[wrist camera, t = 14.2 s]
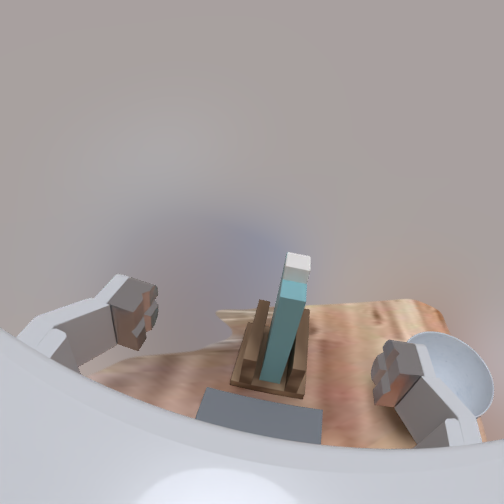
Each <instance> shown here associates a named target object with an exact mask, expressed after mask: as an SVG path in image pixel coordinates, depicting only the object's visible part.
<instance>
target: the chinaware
mask: <svg viewBox="0 0 504 504" xmlns="http://www.w3.org/2000/svg"><path fill="white" fill-rule="evenodd" d="M407 343H416V344H424V345H425V346H426V347H427V350H428V353H429V356H430V359H431V362H432V365H433V368H434V372H435V375H436V378H440V379H441V380H442V381H443V382H444V383H445V384H446V385H447V386H448V388H449V389H450V390H451V391H452V392H453V393H454V394H455V395H456V396H457V397H458V398H459V399H460V400H461V401H462V403H463V404H464V405H465V406H466V407H467V408H468V409H469V410H470V411H471V412H472V414H473V415H474V416H475V417H476V419H477V418H479V417H480V416H481V415H483V414H484V413H485V412H486V411H487V410H488V408H489V407H490V405H491V403H492V400H493V396H494V384H493V379H492V376H491V373H490V371H489V369H488V367H487V365H486V364H485V362H484V361H483V359H482V358H481V357H480V356H479V355H478V354H477V353H476V352H475V351H474V350H473V349H472V348H471V347H470V346H468V345H467V344H465V343H464V342H462V341H460V340H459V339H457V338H455V337H453V336H450V335H448V334H444V333H440V332H422V333H419V334H416V335H414V336H413V337H411V338H410V339H409V340H408V341H407Z"/></svg>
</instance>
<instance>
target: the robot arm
mask: <svg viewBox="0 0 504 504" xmlns="http://www.w3.org/2000/svg"><path fill="white" fill-rule="evenodd" d="M157 296H158V288H157V286H156V285H153V284H150V283H147V282H144V281H141V280H138V279H135V278H132V277H128V276H125V275H122V274H117V275H115V276H114V277H113V278H112V279H111V281H110V282H109V283H108V284H107V285H106V286H105V287H104V288H103V289H102V290H101V291H100V292H99V293H98V294H97V296H96V297H95V298H94V299H93V298H88V299H85V300H82V301H79V302H76V303H73V304H71V305H67V306H64V307H62V308H59V309H56V310H53V311H50V312H47V313H44V314H42V315H39V316H36V317H35V318H34V319H33V320H32V321H31V322H30V323H29V324H28V325H27V326H26V327H25V328H24V329H23V331H22V332H21V333H20V334H19V335H18V336H17V337H14V336H13V335H11V334H9V333H8V332H6V331H5V330H3V329H2V328H0V504H504V439H501V440H495V441H490V442H483V443H482V439H481V435H480V431H479V428H478V424H477V420H476V417H475V416H474V415H473V414H472V412H471V411H470V410H469V409H468V408H467V407H466V406H465V405H464V404H463V403H462V401H461V400H460V399H459V398H458V397H457V396H456V395H455V394H454V393H453V392H452V391H451V390H450V389H449V388H448V386H447V385H446V384H445V383H444V382H443V381H442V380H441V379H440V378H436V375H435V372H434V368H433V365H432V362H431V359H430V356H429V353H428V350H427V347H426V346H425V345H424V344H416V343H407V342H401V341H394V340H388V341H387V342H386V343H385V345H384V346H383V351H384V352H383V353H381V354H380V355H378V356H377V357H376V359H375V361H374V362H373V366H372V370H371V378H372V381H373V382H374V384H375V385H376V387H375V388H374V389H373V395H374V404H375V405H379V406H388V407H395V410H396V412H397V413H398V415H399V416H400V418H401V420H402V421H403V423H404V424H405V426H406V427H407V429H408V431H409V432H410V434H411V436H412V437H413V439H414V440H415V442H416V444H417V445H416V446H415V447H414V448H412V449H372V448H352V447H339V446H328V445H319V444H311V443H303V442H296V441H290V440H283V439H278V438H272V437H267V436H262V435H257V434H252V433H247V432H243V431H238V430H234V429H230V428H226V427H222V426H218V425H214V424H211V423H207V422H204V421H200V420H197V419H193V418H190V417H187V416H183V415H180V414H177V413H174V412H171V411H168V410H165V409H162V408H160V407H157V406H154V405H151V404H148V403H146V402H143V401H141V400H138V399H135V398H133V397H130V396H128V395H125V394H123V393H121V392H118V391H116V390H114V389H111V388H109V387H107V386H104V385H102V384H100V383H98V382H96V381H93V380H91V379H89V378H87V377H85V376H83V375H81V373H80V371H79V368H78V367H79V366H81V365H83V364H84V363H86V362H88V361H90V360H92V359H93V358H95V357H97V356H99V355H100V354H102V353H104V352H106V351H107V350H109V349H111V348H113V347H114V346H116V345H117V344H119V345H122V346H125V347H128V348H130V349H133V350H137V351H139V349H140V348H141V346H142V344H143V343H144V341H145V340H146V332H147V331H150V330H152V328H153V326H154V325H155V322H156V319H157V316H158V304H157V302H156V301H155V299H156V297H157Z"/></svg>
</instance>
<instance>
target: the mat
mask: <svg viewBox="0 0 504 504" xmlns="http://www.w3.org/2000/svg"><path fill="white" fill-rule="evenodd" d="M322 412H323V410H319V409H312V408H305V407H298V406H292V405H286V404H281V403H275V402H270V401H265V400H260V399H255V398H250V397H246V396H241V395H237V394H233V393H228V392H224V391H220V390H216V389H213V388H209V387H207V388H206V391H205V394H204V396H203V399H202V402H201V405H200V407H199V410H198V413H197V415H196V418H195V419H197V420H200V421H204V422H207V423H211V424H214V425H218V426H222V427H226V428H230V429H234V430H238V431H243V432H247V433H252V434H257V435H262V436H267V437H272V438H278V439H283V440H290V441H296V442H303V443H311V444H319V445H321V432H322Z"/></svg>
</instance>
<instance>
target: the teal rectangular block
mask: <svg viewBox="0 0 504 504" xmlns="http://www.w3.org/2000/svg"><path fill="white" fill-rule="evenodd" d="M310 261H311V257H310V256H305V255H300V254H295V253H291V252H287V254H286V259H285V264H284V268H283V273H282V278H281V282H280V287H279V291H278V295H277V300H276V304H275V308H274V313H273V317H272V321H271V325H270V330H269V334H268V339H267V344H266V349H265V354H264V359H263V364H262V369H261V374H260V378H259V380H262V381H267V382H272V383H278V384H280V381H281V378H282V375H283V372H284V369H285V366H286V363H287V360H288V357H289V354H290V351H291V348H292V345H293V342H294V339H295V336H296V333H297V330H298V326H299V323H300V320H301V317H302V314H303V310H304V307H305V303H306V291H307V290H306V289H307V282H308V278H309V274H310Z"/></svg>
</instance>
